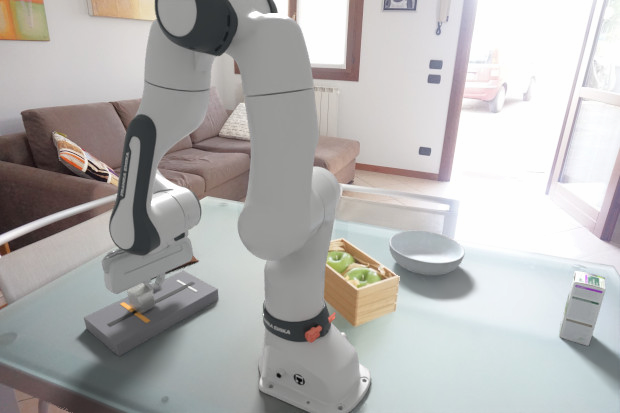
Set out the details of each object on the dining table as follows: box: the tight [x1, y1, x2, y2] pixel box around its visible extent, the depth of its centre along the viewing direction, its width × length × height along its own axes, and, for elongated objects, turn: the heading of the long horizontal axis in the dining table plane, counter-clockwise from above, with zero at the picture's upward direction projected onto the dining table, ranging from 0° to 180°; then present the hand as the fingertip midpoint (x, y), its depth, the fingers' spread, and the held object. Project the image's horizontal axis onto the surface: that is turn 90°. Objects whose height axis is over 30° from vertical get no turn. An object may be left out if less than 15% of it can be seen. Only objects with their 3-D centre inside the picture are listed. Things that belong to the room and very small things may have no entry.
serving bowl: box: [388, 229, 465, 276], centre depth 118 cm, size 21×21×7 cm
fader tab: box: [126, 283, 155, 314], centre depth 92 cm, size 4×4×4 cm
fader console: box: [83, 270, 220, 357], centre depth 96 cm, size 14×26×3 cm, turn 142°
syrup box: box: [559, 270, 606, 347], centre depth 89 cm, size 6×6×14 cm
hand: (155, 291), depth 95 cm, fingers closed
